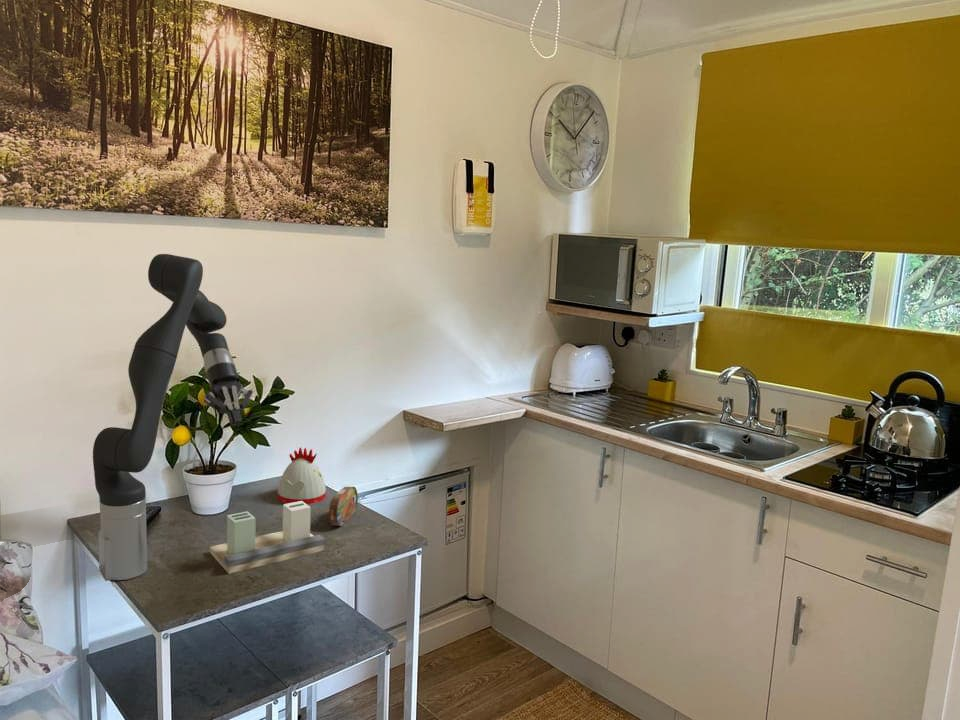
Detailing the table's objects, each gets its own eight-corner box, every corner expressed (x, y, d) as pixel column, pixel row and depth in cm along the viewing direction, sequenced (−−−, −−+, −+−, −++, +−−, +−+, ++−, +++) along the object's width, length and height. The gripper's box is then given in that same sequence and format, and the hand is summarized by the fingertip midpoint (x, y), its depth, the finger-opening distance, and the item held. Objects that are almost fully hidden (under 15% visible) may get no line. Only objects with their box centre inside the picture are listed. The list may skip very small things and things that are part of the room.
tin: (337, 531, 193) (338, 501, 192) (326, 529, 194) (327, 499, 192) (358, 510, 208) (359, 482, 206) (347, 509, 208) (348, 481, 207)
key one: (291, 545, 179) (291, 510, 177) (282, 538, 182) (283, 503, 181) (309, 541, 182) (310, 506, 180) (301, 534, 186) (301, 500, 184)
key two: (234, 558, 170) (234, 521, 168) (227, 550, 174) (227, 514, 172) (255, 553, 173) (255, 517, 171) (247, 546, 177) (247, 510, 175)
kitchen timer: (315, 507, 208) (316, 457, 206) (269, 501, 210) (270, 452, 208) (332, 490, 222) (333, 443, 219) (289, 486, 224) (290, 439, 221)
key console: (228, 573, 166) (228, 561, 166) (209, 552, 176) (209, 540, 176) (324, 550, 181) (325, 538, 181) (302, 531, 191) (302, 521, 190)
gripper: (198, 362, 188) (214, 419, 181) (248, 359, 196) (266, 414, 189) (192, 378, 193) (207, 435, 186) (241, 375, 201) (258, 428, 194)
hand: (237, 424), depth 187 cm, fingers closed
